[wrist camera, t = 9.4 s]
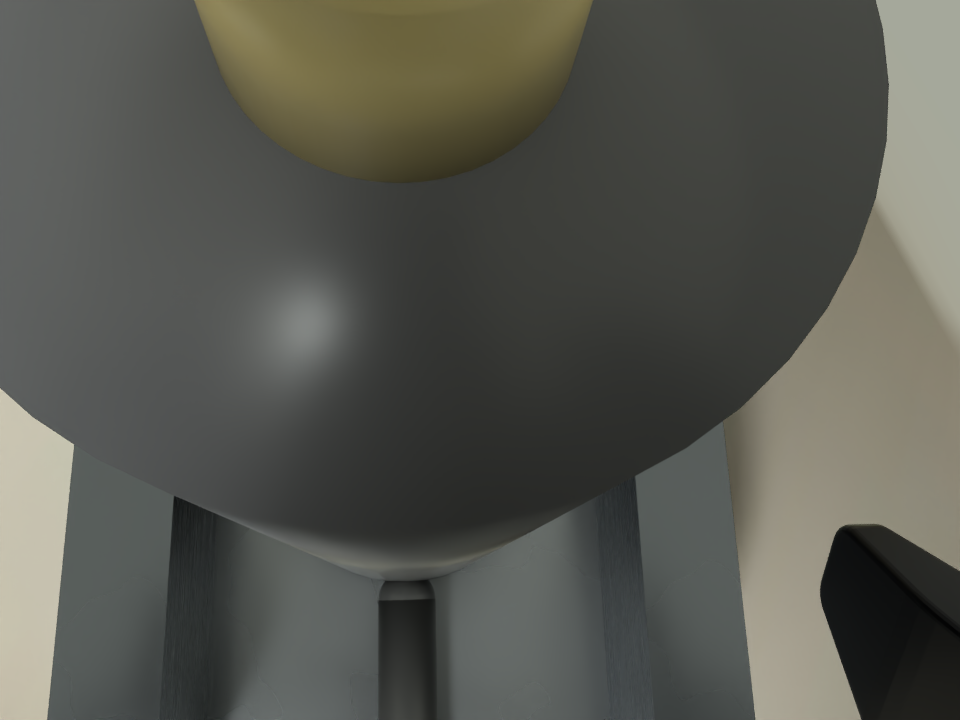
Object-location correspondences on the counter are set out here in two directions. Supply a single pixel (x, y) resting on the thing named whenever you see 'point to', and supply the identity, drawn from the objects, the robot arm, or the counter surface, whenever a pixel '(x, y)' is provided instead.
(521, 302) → the plug
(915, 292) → the counter surface
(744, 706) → the housing
